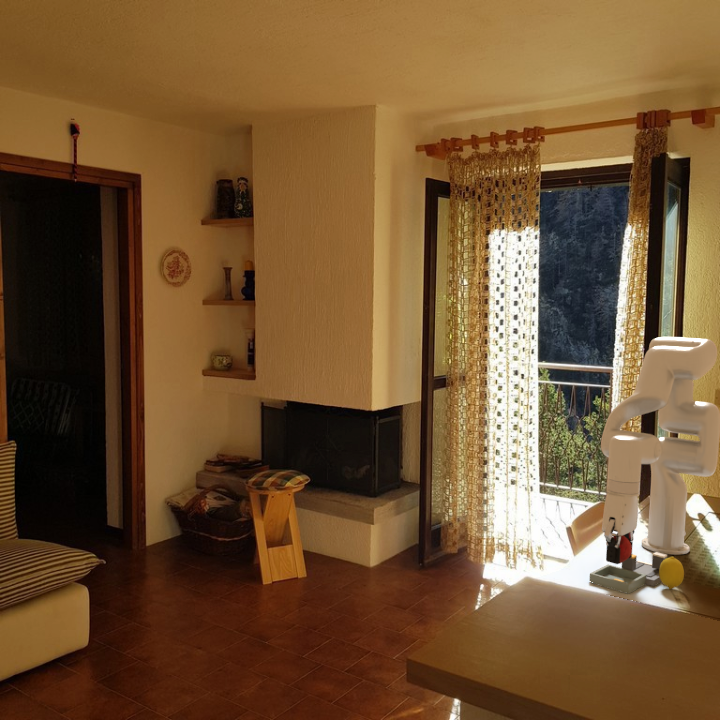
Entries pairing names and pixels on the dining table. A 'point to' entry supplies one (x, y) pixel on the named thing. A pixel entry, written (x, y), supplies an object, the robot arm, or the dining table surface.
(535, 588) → the dining table surface
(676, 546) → the robot arm
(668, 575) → the lemon
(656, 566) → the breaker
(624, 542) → the onion
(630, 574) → the tray
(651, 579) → the breaker panel
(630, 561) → the block
